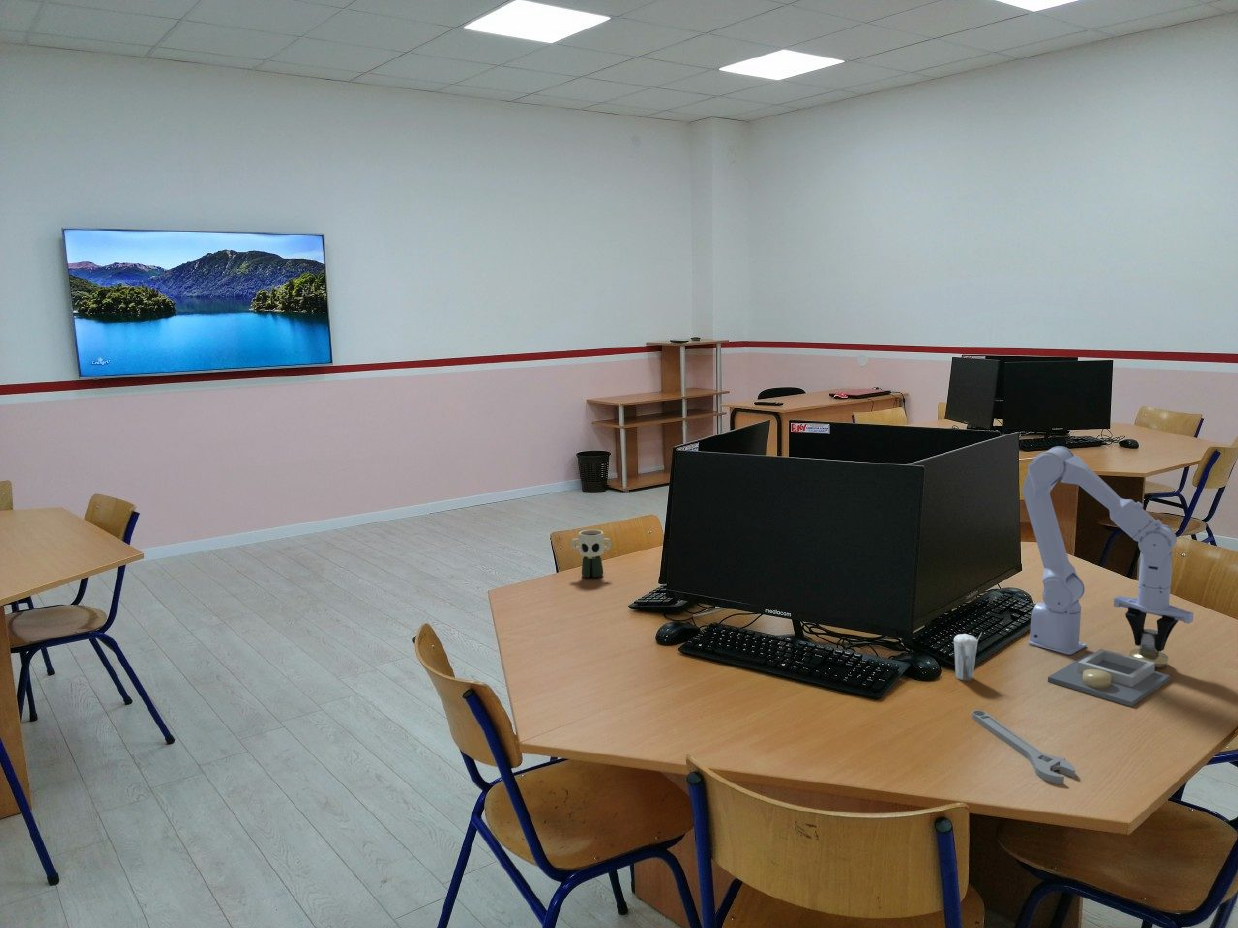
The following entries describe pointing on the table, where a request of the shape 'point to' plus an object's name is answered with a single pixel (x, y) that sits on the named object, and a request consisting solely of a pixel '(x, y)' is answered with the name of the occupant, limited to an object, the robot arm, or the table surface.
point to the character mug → (591, 551)
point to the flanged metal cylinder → (1149, 649)
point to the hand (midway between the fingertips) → (1149, 646)
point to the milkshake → (965, 656)
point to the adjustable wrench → (1027, 750)
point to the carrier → (1111, 677)
